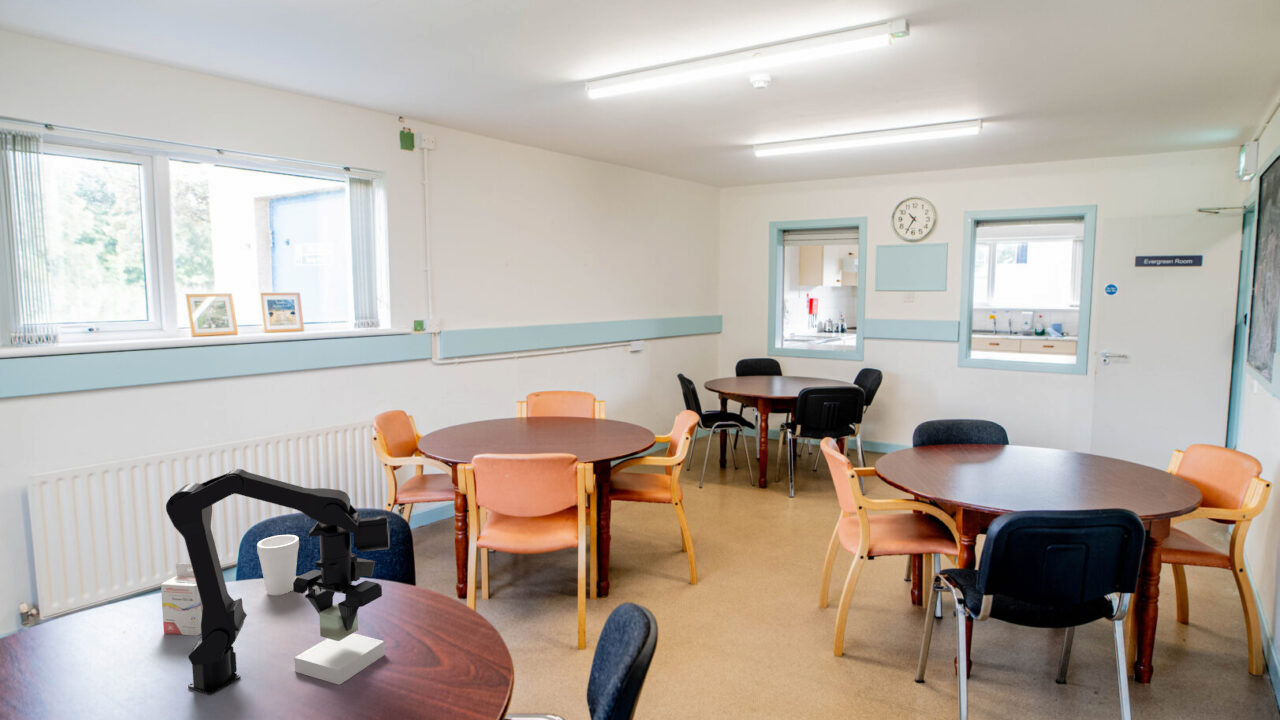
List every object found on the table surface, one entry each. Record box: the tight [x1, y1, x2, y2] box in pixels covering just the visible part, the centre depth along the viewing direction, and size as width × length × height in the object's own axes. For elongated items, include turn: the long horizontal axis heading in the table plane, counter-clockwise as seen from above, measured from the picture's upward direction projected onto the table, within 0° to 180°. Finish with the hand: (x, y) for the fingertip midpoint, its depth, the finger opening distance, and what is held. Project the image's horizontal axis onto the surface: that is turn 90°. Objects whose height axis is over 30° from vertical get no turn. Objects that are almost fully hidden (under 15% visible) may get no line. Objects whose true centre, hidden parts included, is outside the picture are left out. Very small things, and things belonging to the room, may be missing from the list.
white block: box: [293, 632, 386, 685], centre depth 138 cm, size 12×12×3 cm
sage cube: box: [319, 602, 359, 641], centre depth 137 cm, size 5×5×5 cm
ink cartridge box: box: [160, 562, 202, 636], centre depth 151 cm, size 9×5×15 cm, turn 84°
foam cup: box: [256, 534, 300, 596], centre depth 172 cm, size 10×9×13 cm
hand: (338, 627), depth 138 cm, fingers closed on sage cube, 5 cm apart
